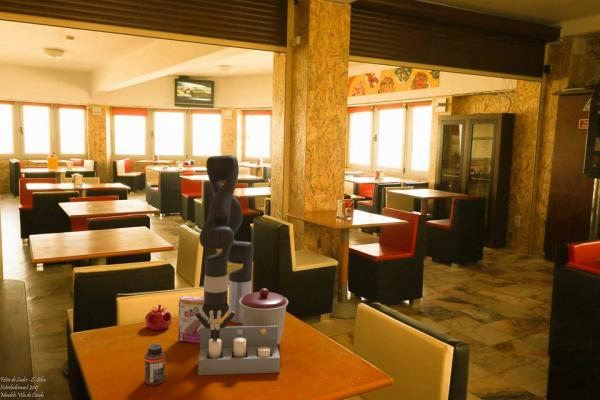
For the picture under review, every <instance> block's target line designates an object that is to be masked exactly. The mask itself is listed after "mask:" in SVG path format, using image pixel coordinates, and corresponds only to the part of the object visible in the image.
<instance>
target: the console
mask: <svg viewBox="0 0 600 400" xmlns="http://www.w3.org/2000/svg"><path fill="white" fill-rule="evenodd" d="M215 328H216V326H215ZM236 338H244V339H246V355H245V356H244V357H235V356H234V355H233V353H234V339H236ZM210 339H211V330H210V329H209V328H205V327H201V331H200V343H199V346H200V347H199V348H200V349H199V356H198V370H197V371H198V373H197V374H198V376H206V375H207V376H210V375H214V376H215V375H237V374H238V375H239V374H240V375H241V374H243V375H246V374H268V373H269V374H270V373H272V374H273V373H280V370H281V356H280V352H279V351H280V350H279V347H278V345H277V342H278V326H243V325H237V326H236V325H235V326H234V325H233V326H228V325H227V326H226V327H225V328H221V329H220V338H219V339H221V356H220V357H219V358H210V357H209V340H210ZM259 347H269V348H270V357H258V348H259Z"/></svg>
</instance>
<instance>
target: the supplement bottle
mask: <svg viewBox="0 0 600 400" xmlns="http://www.w3.org/2000/svg"><path fill="white" fill-rule="evenodd" d="M165 379H166V353H165V352H164V351H163V348H162V344H159V343H152V344H150V345H149V346H148V347H147V352H146V353H145V354H144V382H145V383H146V384H147V385H150V386H157V385H160V384H162V383H163V382H164V381H165Z"/></svg>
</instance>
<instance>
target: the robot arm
mask: <svg viewBox="0 0 600 400" xmlns="http://www.w3.org/2000/svg"><path fill="white" fill-rule="evenodd" d="M205 164H206V165H205V166H206V167H205V168H206V173H207V177H208V180H209V183H210V186H211V189H212V194H213V196H212V198H211V200H210V202H209V205H208V206H209V207H208V215H207V218H206V221H205V223H204V225H203V226H202V228H201V230H200V233H199V243H200V245H201V247H203V249H210V250H211V249H213V250H220V249H221V251H220V252H219V253H216V254H211V255H208V256H206V258H205V262H204V267H205V268H204V281H203V297H204V305H203V306H202V309H201V310H200V311H197V312H196V317H197V318H198V319H199V321H200V322H201V323H202V324H203V325H204V327H205V328H209V329H210V330H211V339H213V341H217V339H219V338H220V329H221V328H225V327H227V326H228V324H229V323H230V322H231V323H235V324H242V313H241V305H240V303H239V300H240V299H241V298H242V297H244V296H245V295H247V294H250V293H252V280H253V279H252V275H253V262H254V261H253V259H254V245H253V243H252V242H249V241H239V240H236V239H235V237H234V236H235V235H236V233H237V231H238V230H239V228H241V225H242V223H243V219H244V215H243V209H242V206H241V203H240V201H239V200H238V199H237V198H236V197H235V196H234V193H235V191H236V186H237V182H238V178H239V174H240V173H239V172H240V171H239V169H240V168H239V161H238V158H237V157H236V156H235V155H232V154H228V155H227V154H226V155H212V156H209V157H208V158H207V159H206V163H205ZM223 182H224V183H223ZM228 263H231V264H239V265H242V268H239V269H235V270H232V271H231V272H230V273H229V277H228ZM203 312H204V313H205V314H206V316H207V317H208V318H209V319H210V323H209V322H208V321H207V320H206V319H205V317H204V313H203ZM225 315H226V317H225V318H224V316H225ZM223 318H224V319H223ZM221 319H223V320H222V322H221ZM215 320H216V322H215ZM215 327H216V328H215Z"/></svg>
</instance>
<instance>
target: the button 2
mask: <svg viewBox="0 0 600 400" xmlns="http://www.w3.org/2000/svg"><path fill="white" fill-rule="evenodd" d="M258 357H270V348H269V347H259V348H258Z"/></svg>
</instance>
